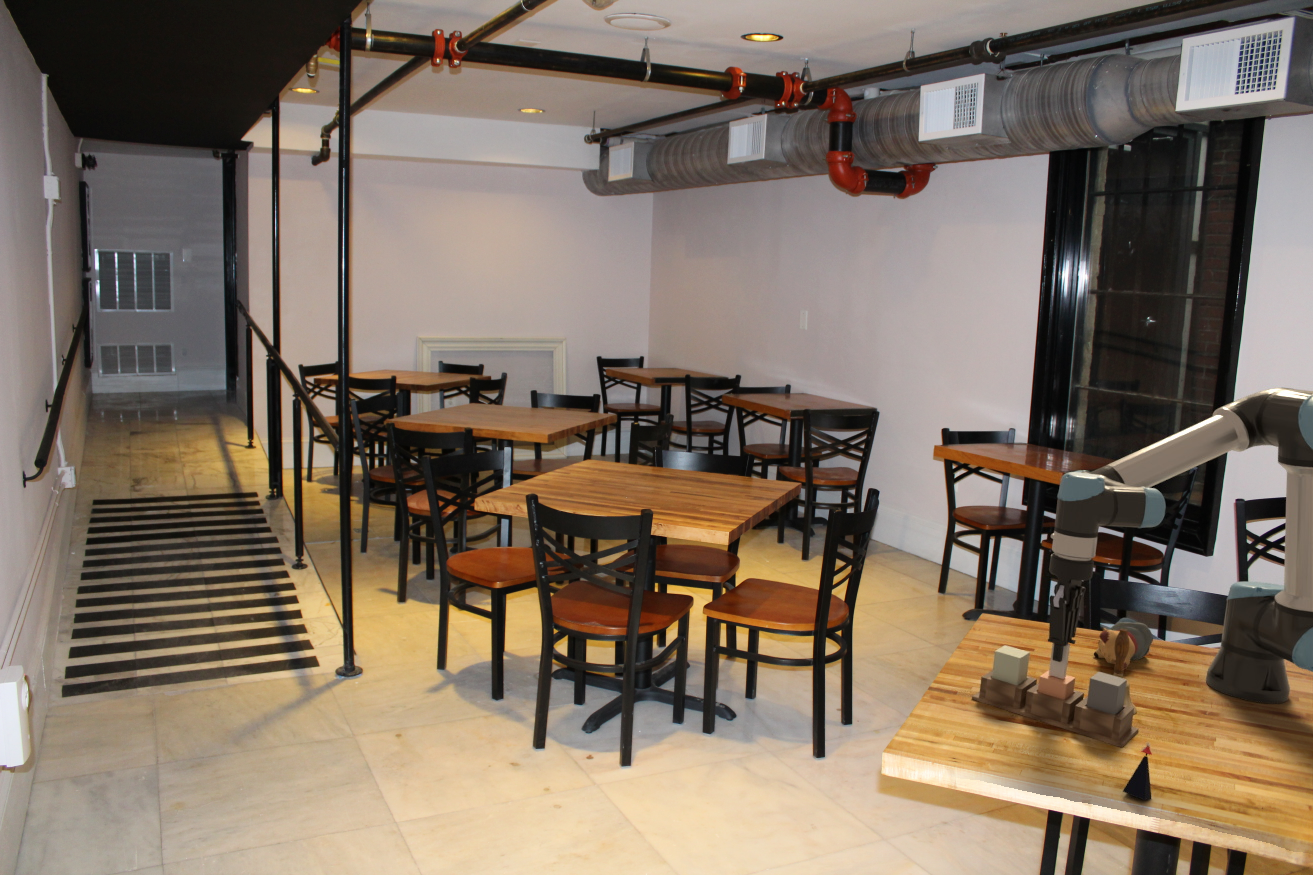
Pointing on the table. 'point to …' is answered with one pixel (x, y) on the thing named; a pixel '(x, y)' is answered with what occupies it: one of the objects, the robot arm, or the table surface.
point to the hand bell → (1122, 662)
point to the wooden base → (1058, 710)
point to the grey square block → (1106, 693)
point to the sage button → (1010, 665)
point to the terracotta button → (1056, 686)
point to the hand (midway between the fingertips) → (1057, 675)
